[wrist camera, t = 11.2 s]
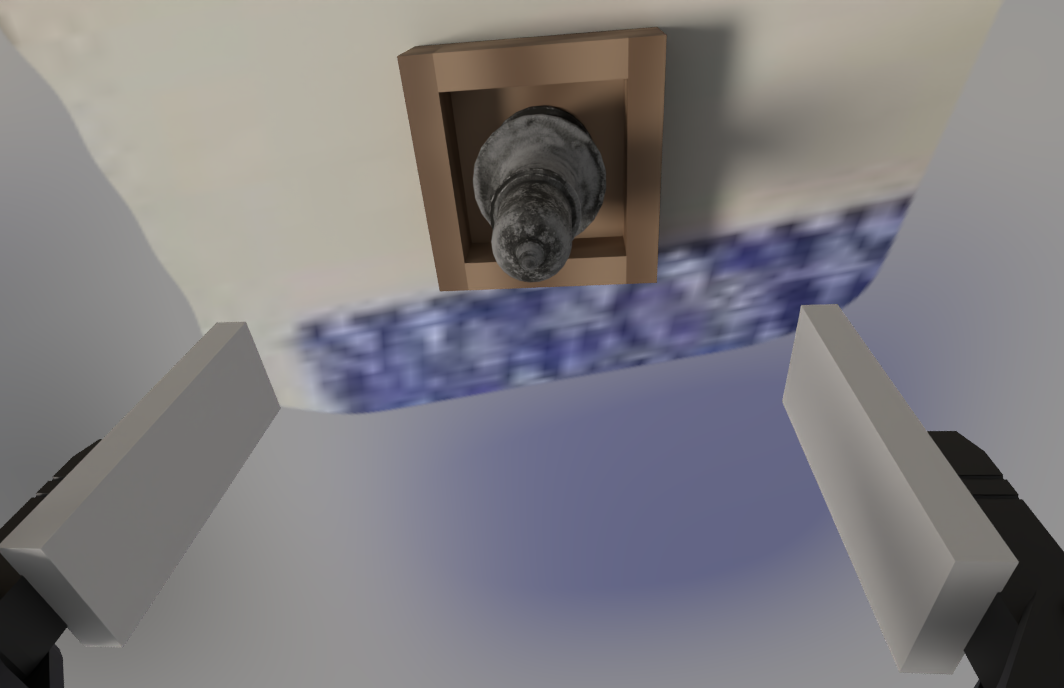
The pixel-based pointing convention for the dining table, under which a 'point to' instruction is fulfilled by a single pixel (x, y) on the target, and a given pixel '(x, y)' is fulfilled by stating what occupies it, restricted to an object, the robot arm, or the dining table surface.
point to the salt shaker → (538, 189)
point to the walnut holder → (535, 80)
